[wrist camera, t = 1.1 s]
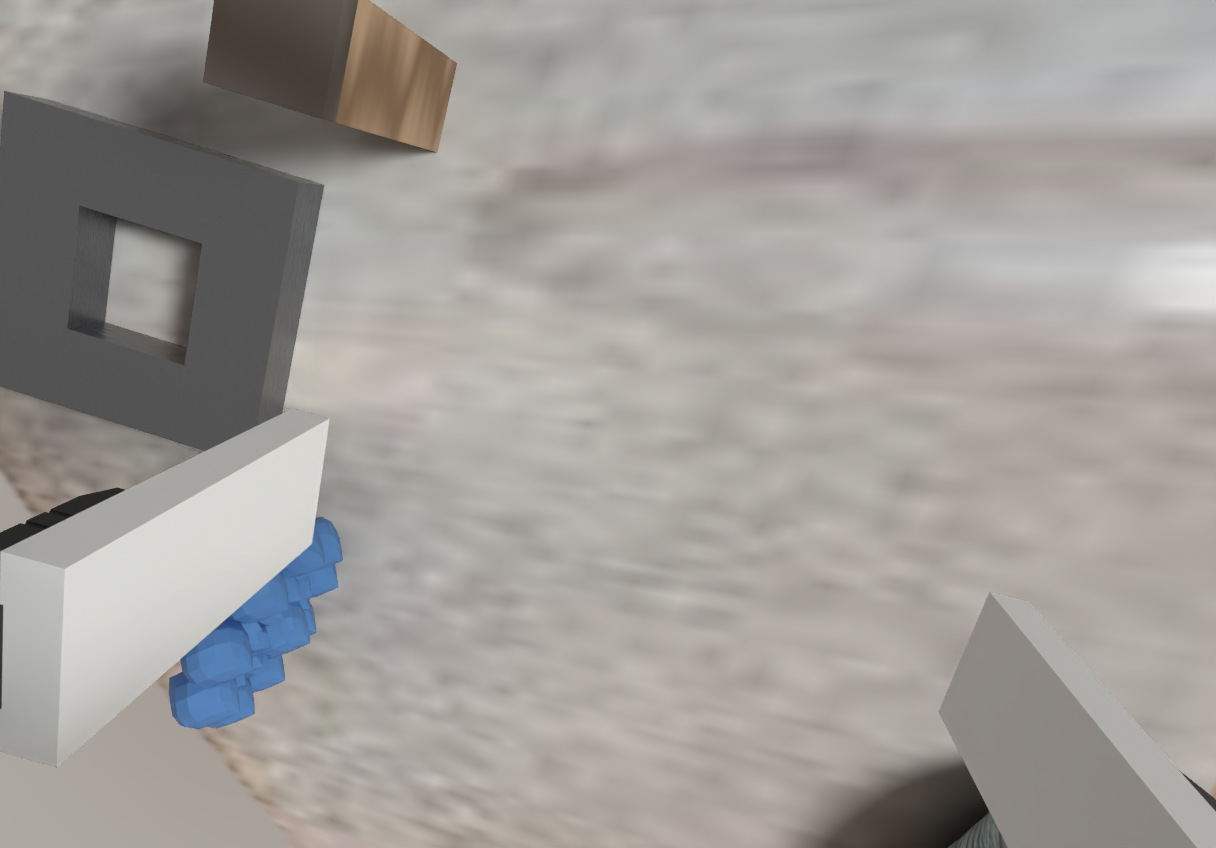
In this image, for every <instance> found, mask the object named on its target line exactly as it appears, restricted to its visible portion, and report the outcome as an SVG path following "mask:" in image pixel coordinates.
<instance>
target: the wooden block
mask: <svg viewBox="0 0 1216 848" xmlns="http://www.w3.org/2000/svg"><path fill="white" fill-rule="evenodd" d="M456 65H457V63H456V62H454V61H453V60H452V59H450V58H449V57H447V56H446V55H445V54H443V53H442V52H440V51H439V50H438V49H436V48H435V47H434V46H432V45H431V44H429V43H428V42H427V41H425V40H424V39H422V38H421V37H420V36H418V35H417V34H415V33H414V32H413V31H411V30H410V29H408V28H407V27H406V26H404V25H403V24H401V23H400V22H399V21H397V20H396V19H394V18H393V17H392V16H390V15H389V14H387V13H386V12H385V11H383V10H382V9H380V8H379V7H378V6H376V5H375V4H373V3H372V2H371V1H369V0H214V6H213V13H212V21H211V28H210V35H209V42H208V50H207V57H206V64H205V72H204V79H203V82H204V83H208V84H211V85H214V86H217V87H221V88H224V89H227V90H230V91H233V92H237V93H240V94H243V95H246V96H250V97H253V98H256V99H259V100H263V101H266V102H269V103H272V104H275V105H279V106H282V107H285V108H288V109H292V110H295V111H298V112H301V113H305V114H308V115H311V116H314V117H318V118H321V119H324V120H328V121H331V122H334V123H338V124H341V125H345V126H348V127H352V128H355V129H358V130H362V131H365V132H369V133H372V134H376V135H379V136H383V137H386V138H389V139H393V140H396V141H400V142H403V143H407V144H410V145H413V146H417V147H420V148H424V149H427V150H431V151H434V152H437V151H438V146H439V142H440V137H441V133H442V128H443V124H444V119H445V115H446V110H447V106H448V101H449V97H450V92H451V88H452V83H453V79H454V74H455V69H456Z"/></svg>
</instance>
